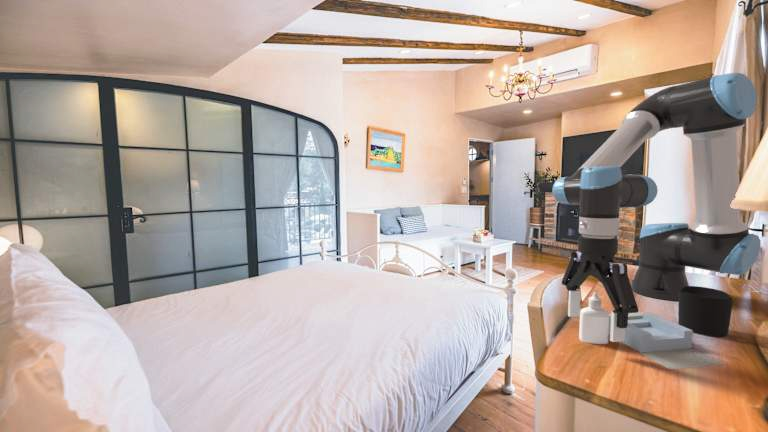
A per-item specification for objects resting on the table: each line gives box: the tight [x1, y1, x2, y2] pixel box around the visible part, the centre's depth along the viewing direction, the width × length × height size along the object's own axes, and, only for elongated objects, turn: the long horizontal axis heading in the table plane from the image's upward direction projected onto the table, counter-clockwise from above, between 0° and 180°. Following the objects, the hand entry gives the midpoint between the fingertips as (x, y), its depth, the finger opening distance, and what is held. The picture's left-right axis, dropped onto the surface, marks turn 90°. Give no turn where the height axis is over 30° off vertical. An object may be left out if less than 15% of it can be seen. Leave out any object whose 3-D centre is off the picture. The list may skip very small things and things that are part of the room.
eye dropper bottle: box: [578, 291, 610, 345], centre depth 75 cm, size 4×6×12 cm
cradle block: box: [609, 312, 694, 353], centre depth 75 cm, size 12×10×4 cm
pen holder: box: [677, 285, 734, 338], centre depth 80 cm, size 9×9×10 cm
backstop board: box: [608, 311, 724, 370], centre depth 74 cm, size 13×20×4 cm, turn 7°
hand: (593, 327), depth 76 cm, fingers open, 12 cm apart
